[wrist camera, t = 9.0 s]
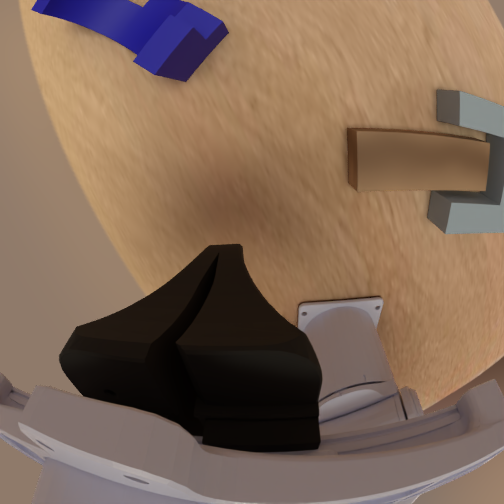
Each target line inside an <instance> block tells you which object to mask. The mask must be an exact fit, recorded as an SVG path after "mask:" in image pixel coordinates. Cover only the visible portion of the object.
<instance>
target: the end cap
mask: <svg viewBox="0 0 504 504" xmlns="http://www.w3.org/2000/svg"><path fill="white" fill-rule="evenodd" d="M437 121H441V122H446V123H450V124H454V125H458V126H462V127H466V128H471V129H475V130H479V131H482V132H486V133H487V138H486V142H488V143H490V154H489V166H488V176H487V184H486V191H480V193H479V192H468V191H454V190H431V198H430V204H429V210H428V216H427V218H428V219H429V220H430V221H432V222H433V223H434V224H435V225H436V226H437V227H438V228H439V229H440V230H441V231H443V232H444V233H445V234H464V233H504V106H501V105H499V104H496V103H493V102H491V101H488V100H485V99H483V98H480V97H477V96H474V95H471V94H468V93H465V92H461V91H453V90H437Z"/></svg>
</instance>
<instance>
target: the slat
mask: <svg viewBox="0 0 504 504" xmlns="http://www.w3.org/2000/svg"><path fill="white" fill-rule="evenodd" d="M347 141H348V183H349V184H350V185H351V186H352V187H353V188H354V189H355V190H356V191H357V192H371V191H408V190H461V191H486V184H487V176H488V166H489V154H490V143H488V142H485V141H482V140H479V139H476V138H471V137H465V136H458V135H451V134H443V133H434V132H424V131H412V130H398V129H375V128H347Z"/></svg>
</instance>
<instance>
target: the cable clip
mask: <svg viewBox="0 0 504 504" xmlns="http://www.w3.org/2000/svg"><path fill="white" fill-rule="evenodd" d="M31 10H33V11H36V12H38V13H40V14H44V15H49V16H53V17H57V18H60V19H64V20H67V21H70V22H73V23H76V24H79V25H81V26H84V27H86V28H89V29H91V30H94V31H96V32H98V33H100V34H102V35H104V36H106V37H109V38H110V39H112V40H114V41H116V42H118V43H120V44H121V45H123V46H125V47H126V48H128V49H130V50H131V51H133V52H134V53H135V54H137V57H136V58H135V60H134V61H133V62H135V63H136V64H138V65H140V66H141V67H143V68H144V69H146V70H148V71H149V72H151V73H152V74H154V75H157V76H162V77H167V78H171V79H176V80H180V81H184V82H186V81H187V80H188V79H189V78H190V76H191V75H192V74H193V73H194V71H195V70H196V69H197V68H198V67H199V65H200V64H201V63H202V62H203V61H204V59H205V58H206V57H207V56H208V55H209V54H210V53H211V51H212V50H213V49H214V48H215V47H216V46H217V45H218V44H219V43H220V42H221V40H222V39H223V38H224V37H225V36H226V35H227V34H228V33H229V32H228V30H227V28H226V26H225V24H224V23H223V21H221V20H220V19H218V18H216V17H214V16H213V15H211V14H209V13H207V12H206V11H204V10H202V9H200V8H198V7H196V6H195V5H193V4H191V3H189V2H184V1H181V0H149V1H148V2H147V3H146V4H145V6H144V7H141V6H139V5H137V4H135V3H133V2H130V1H128V0H37V1H36V3H35V5H34V6H33V8H32V9H31Z"/></svg>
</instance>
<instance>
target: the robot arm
mask: <svg viewBox="0 0 504 504" xmlns="http://www.w3.org/2000/svg"><path fill="white" fill-rule="evenodd" d="M376 306H378V307H376ZM382 306H383V299H382V298H381V297H376V298H365V299H354V300H341V301H328V302H313V303H302V304H300V306H299V311H298V328H297V327H295V326H294V325H292V324H291V323H289V322H288V321H287V320H286V319H285V318H284V317H282V316H281V315H280V314H279V313H278V312H277V311H276V310H275V309H274V308H273V307H272V306H271V305H270V304H269V303H268V302H267V300H266V299H265V298H264V297H263V295H262V294H261V293H260V291H259V290H258V288H257V287H256V285H255V284H254V282H253V280H252V278H251V277H250V275H249V273H248V271H247V268H246V266H245V263H244V258H243V248H242V246H241V245H240V244H227V245H209V246H208V247H207V248H206V249H205V250H204V251H202V252H201V253H200V254H199V255H198V256H197V257H196V258H195V259H194V260H193V261H192V262H191V263H190V264H189V265H187V266H186V267H185V268H184V269H183V270H182V271H181V272H179V273H178V274H177V275H176V276H175V277H173V278H172V279H171V280H170V281H169V282H167V283H166V284H165V285H163V286H162V287H160V288H159V289H157V290H156V291H154V292H153V293H151V294H150V295H148V296H147V297H145V298H143V299H141V300H140V301H138V302H136V303H134V304H132V305H131V306H129V307H127V308H125V309H122V310H120V311H118V312H116V313H114V314H111V315H109V316H107V317H104V318H101V319H99V320H96V321H93V322H90V323H87V324H84V325H81V326H77V327H76V328H75V330H74V332H73V333H72V335H71V337H70V338H69V340H68V342H67V343H66V345H65V347H64V348H63V350H62V352H61V354H60V355H59V361H60V364H61V367H62V370H63V371H64V373H65V374H66V376H67V377H68V378H69V380H70V381H71V382H72V383H73V385H74V386H75V387H76V388H77V389H78V391H79V392H80V393H81V394H82V395H83V396H80V395H76V394H73V393H70V392H66V391H63V390H60V389H57V388H54V387H50V386H43V385H39V386H36V387H35V388H34V390H33V392H32V394H31V395H30V394H29V393H26V392H24V391H22V390H19V389H17V388H15V387H13V386H12V384H11V383H10V381H9V380H8V379H7V378H6V377H5V376H4V375H3V374H2V373H0V438H1V439H3V440H4V441H5V442H7V443H8V444H10V445H11V446H12V447H14V448H15V449H17V450H18V451H20V452H22V453H23V454H25V455H26V456H28V457H29V458H31V459H33V460H34V461H36V462H38V463H39V464H41V465H43V468H42V471H41V474H40V477H39V480H38V483H37V487H36V489H35V493H34V497H33V500H32V503H31V504H412V503H413V502H414V501H415V500H416V499H417V498H418V497H419V495H420V494H423V493H425V492H428V491H430V490H432V489H435V488H437V487H440V486H442V485H444V484H446V483H449V482H451V481H453V480H455V479H457V478H459V477H461V476H463V475H465V474H467V473H469V472H471V471H473V470H475V469H477V468H478V467H480V466H482V465H483V464H484V463H486V462H488V461H489V460H491V459H492V458H493V457H495V456H496V455H498V454H499V453H500V452H502V451H503V450H504V397H503V395H502V392H501V390H500V388H499V386H498V384H497V382H496V380H495V379H492V380H490V381H487V382H485V383H483V384H480V385H478V386H475V387H473V388H471V389H469V390H468V391H467V392H465V393H464V394H463V395H462V396H461V397H460V399H459V400H458V402H457V404H455V405H453V406H449V407H447V408H444V409H441V410H438V411H435V412H432V413H429V414H425V415H424V413H423V410H422V407H421V404H420V402H419V399H418V396H417V393H416V391H415V390H414V389H411V388H410V389H409V388H408V387H407V386H405V387H403V388H402V389H400V391H401V393H400V391H399V389H398V387H397V385H396V383H395V380H394V377H393V374H392V371H391V368H390V365H389V362H388V360H387V357H386V354H385V351H384V349H383V346H382V343H381V340H380V338H379V335H378V333H377V330H376V328H377V324H378V321H379V317H380V314H381V310H382ZM303 312H306V313H303ZM401 395H402V396H401Z"/></svg>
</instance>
